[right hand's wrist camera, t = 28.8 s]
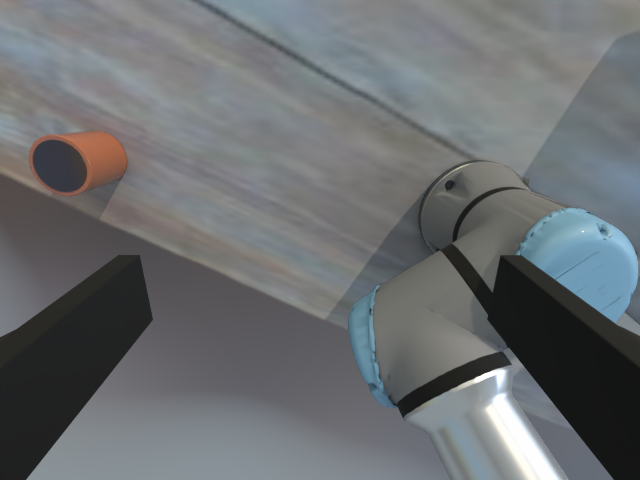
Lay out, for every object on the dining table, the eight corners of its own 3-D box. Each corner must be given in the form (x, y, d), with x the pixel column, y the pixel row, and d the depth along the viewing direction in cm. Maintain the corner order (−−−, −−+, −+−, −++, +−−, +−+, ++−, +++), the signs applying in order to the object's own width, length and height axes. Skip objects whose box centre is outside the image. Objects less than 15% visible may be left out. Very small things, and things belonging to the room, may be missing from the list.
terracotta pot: (132, 182, 48) (97, 196, 41) (82, 182, 48) (38, 196, 41) (121, 130, 46) (82, 134, 38) (69, 130, 46) (19, 134, 38)
